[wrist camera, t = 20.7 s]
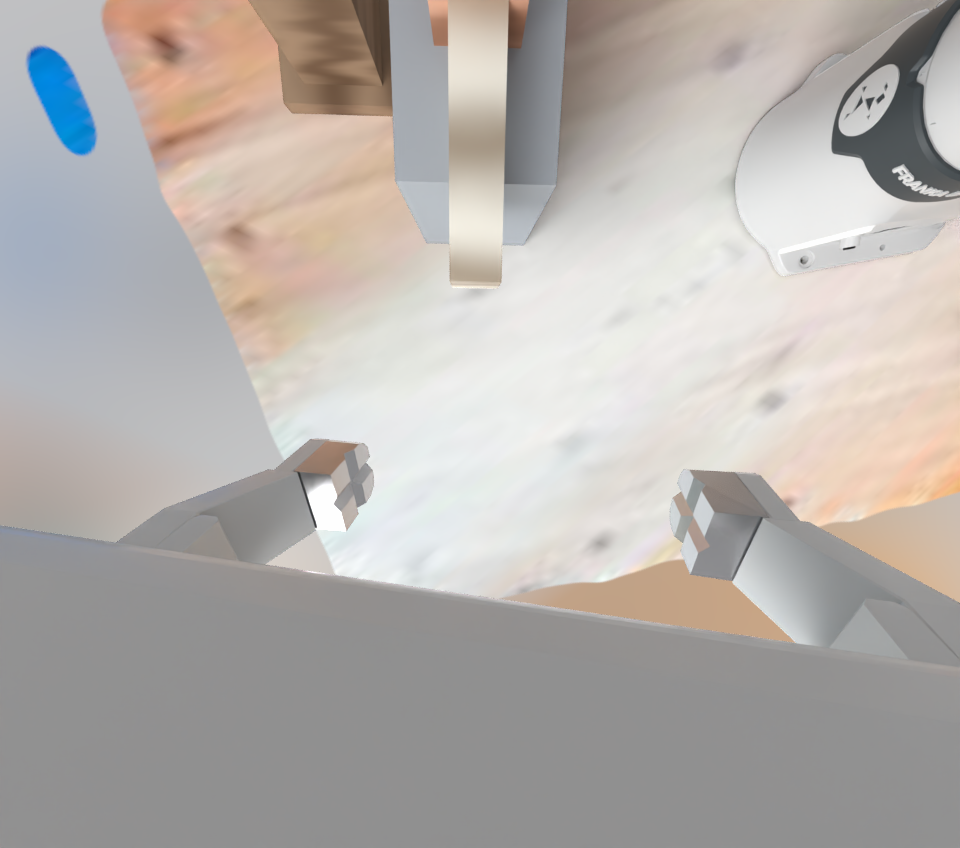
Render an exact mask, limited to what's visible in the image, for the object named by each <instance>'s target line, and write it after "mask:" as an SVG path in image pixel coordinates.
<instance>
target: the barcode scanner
mask: <svg viewBox="0 0 960 848" xmlns="http://www.w3.org/2000/svg"><path fill="white" fill-rule="evenodd" d="M528 4H529V0H428V6H429V13H430V20H431V28H432V35H433V42H434V46H448V108H449V254H450V283H451V285H452V287H453V288H493V289H498V287H499V286H500V284H501V278H502V240H503V202H504V164H505V126H506V88H507V51H508V48H521V46H522V40H523V34H524V28H525V22H526V16H527V10H528Z"/></svg>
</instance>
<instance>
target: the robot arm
mask: <svg viewBox="0 0 960 848" xmlns="http://www.w3.org/2000/svg"><path fill="white" fill-rule="evenodd" d="M735 196H736V203H737V208H738V212H739V215H740V217H741V220H742V222H743V224H744V226H745V227H746V229H747V230H748V232H749V233H750V234H751V235H752V236H753V238H754V239H756V240H757V241H758V242H759V243H760V244H761V245H762V246H763V247H764V248H765V249H766V250H767V251H768V253H769V256H770V259H771V261H772V264H773V266H774V268H775V270H776V271H777V273H778V274H780V275H782V276H790V275H795V274H801V273H806V272H811V271H817V270H822V269H828V268H833V267H838V266H844V265H849V264H855V263H860V262H865V261H871V260H876V259H882V258H887V257H893V256H898V255H903V254H908V253H912V252H916V251H919V250H922V249H924V248H926V247H927V246H928V245H929V244H930V243H931V242H932V241H933V240H934V238H935V237H936V236H937V235H938V233H939V232H940V230H941V229H942V228H943V226H944V225H945V223H946V222H947V221H951V220H955V219H959V218H960V0H943V1H942V2H941V3H939V4H938V5H937V7H936V8H935V9H933V10H932V11H929V9H923V10H920V11H917V12H915V13H913V14H912V15H910V16H908V17H907V18H905V19H904V20H902V21H901V22H899V23H897V24H896V25H894V26H893V27H891V28H890V29H888V30H887V31H885V32H883V33H882V34H880V35H879V36H877V37H876V38H874V39H873V40H871V41H869V42H868V43H866V44H865V45H863V46H862V47H860V48H859V49H857V50H856V51H854V52H852V53H851V54H849V55H845V54H841V53H837V54H834V55H832V56H830V57H829V58H827V59H826V60H824V61H823V62H821V63H820V64H819V65H818V66H817V67H816V68H815V69H814V70H813V72H812V73H811V74H810V75H809V77H808V78H807V79H806V81H805V82H804V83H803V85H802V86H801V88H799V89H798V90H797V91H796V92H795V93H793V94H792V95H790V96H789V97H787V98H786V99H784V100H783V101H781V102H780V103H779V104H777V105H776V106H775V107H773V108H772V109H771V110H770V111H769V112H768V113H767V114H766V115H765V116H764V117H763V118H762V119H761V121H760V122H759V123H758V124H757V126H756V127H755V128H754V130H753V131H752V133H751V135H750V136H749V138H748V140H747V142H746V144H745V146H744V148H743V151H742V154H741V157H740V160H739V163H738V167H737V172H736V181H735ZM801 258H802V263H801V262H800V260H801ZM369 457H370V455H369V451H368V447H367V446H366V445H365V444H364V443H357V442H347V441H338V440H329V439H310V440H309V441H308V442H306V443H305V444H304V445H303V446H302V447H300V448H299V449H298V450H297V451H296V452H295V453H293V454H292V455H291V456H290V457H289V458H287V459H286V460H285V461H284V462H283V463H282V464H281V465H279V466H278V467H277V468H276V469H274V470H266V471H263V472H261V473H258V474H255V475H252V476H250V477H247V478H244V479H242V480H239V481H236V482H234V483H231V484H228V485H226V486H223V487H220V488H217V489H215V490H212V491H209V492H207V493H204V494H201V495H199V496H196V497H193V498H191V499H188V500H186V501H183V502H180V503H177V504H175V505H172V506H169V507H167V508H164V509H163V510H161V511H160V512H158V513H157V514H155V515H154V516H153V517H151V518H150V519H148V520H147V521H145V522H144V523H143V524H141V525H140V526H138V527H137V528H136V529H134V530H133V531H131V532H130V533H128V534H127V535H126V536H124V537H123V538H121V539H120V540H119V541H117V542H109V541H102V540H95V539H89V538H82V537H75V536H68V535H62V534H55V533H48V532H42V531H35V530H28V529H22V528H15V527H8V526H1V525H0V848H960V603H959V602H957V601H955V600H953V599H951V598H949V597H948V596H946V595H944V594H942V593H940V592H938V591H936V590H935V589H932V588H931V587H929V586H927V585H925V584H923V583H922V582H920V581H918V580H916V579H914V578H912V577H910V576H909V575H907V574H905V573H903V572H901V571H899V570H897V569H895V568H894V567H891V566H890V565H888V564H886V563H884V562H882V561H881V560H879V559H877V558H875V557H873V556H871V555H869V554H867V553H865V552H864V551H862V550H860V549H858V548H856V547H854V546H852V545H851V544H849V543H847V542H845V541H843V540H841V539H839V538H838V537H836V536H834V535H832V534H830V533H828V532H826V531H824V530H823V529H821V528H819V527H817V526H815V525H813V524H811V523H810V522H803V521H800V520H799V519H798V518H797V517H796V516H795V515H794V513H793V512H792V511H791V510H790V509H789V508H788V507H787V505H786V504H785V503H784V502H783V501H782V500H781V499H780V497H779V496H778V495H777V494H776V493H775V492H774V490H773V489H772V488H771V487H770V486H769V485H768V484H767V482H766V481H765V480H764V479H763V478H762V477H761V476H760V475H758V474H756V473H744V472H720V471H704V470H687V469H684V470H683V471H682V473H681V474H680V476H679V480H678V483H677V484H678V486H679V488H680V490H681V492H680V493H679V494H677V495H676V496H675V497H673V499H672V503H671V507H670V524H671V529H672V531H673V534H674V536H675V537H676V538H677V539H678V540H680V541H681V542H682V543H683V545H682V548H681V554H682V556H683V558H684V561H685V563H686V566H687V568H688V570H689V573H690V575H696V576H703V577H710V578H716V579H723V580H730V581H733V584H734V585H735V586H736V587H737V588H738V589H739V590H741V591H742V592H743V593H744V594H745V595H746V596H747V597H748V598H749V599H750V600H751V601H752V602H753V603H754V604H755V605H756V606H758V607H759V608H760V609H761V610H762V611H763V612H764V613H765V614H766V615H767V616H768V617H769V618H770V619H771V620H772V621H773V622H775V623H776V624H777V625H778V626H779V627H780V628H781V629H782V630H783V631H784V632H785V633H786V634H787V635H788V636H789V637H790V638H791V639H793V640H794V641H795V642H796V643H792V642H785V641H778V640H772V639H764V638H758V637H751V636H744V635H737V634H730V633H724V632H716V631H710V630H703V629H696V628H689V627H682V626H675V625H669V624H662V623H656V622H649V621H642V620H636V619H629V618H622V617H616V616H609V615H602V614H595V613H589V612H582V611H576V610H568V609H562V608H556V607H549V606H541V605H536V604H529V603H522V602H515V601H508V600H502V599H495V598H488V597H481V596H474V595H468V594H461V593H454V592H447V591H440V590H434V589H427V588H420V587H413V586H406V585H400V584H393V583H386V582H379V581H372V580H366V579H359V578H352V577H345V576H339V575H332V574H324V573H318V572H312V571H305V570H298V569H291V568H285V567H277V566H270V565H265V564H266V563H268V562H269V561H271V560H272V559H274V558H275V557H277V556H278V555H280V554H281V553H283V552H284V551H286V550H287V549H289V548H290V547H292V546H293V545H295V544H296V543H298V542H299V541H301V540H302V539H303V538H305V537H307V536H308V535H310V534H311V533H313V532H314V531H316V529H325V530H335V531H347V529H348V528H349V527H350V525H351V524H352V522H353V521H354V519H355V518H356V517H357V515H358V510H357V507H359V506H361V505H363V504H364V503H366V502H367V500H368V499H369V497H370V496H371V493H372V490H373V486H374V475H373V470H372V469H371V468H370V467H369V466H368V464H367V463H366V462H367V461H368V459H369Z"/></svg>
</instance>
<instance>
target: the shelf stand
mask: <svg viewBox="0 0 960 848" xmlns="http://www.w3.org/2000/svg"><path fill="white" fill-rule="evenodd" d="M248 1H249V2H250V4H251V5H252V7H253V8H254V10H255V11H256V13H257V14H258V16H259V17H260V19H261V20H262V22H263V23H264V24H265V26H266V27H267V29H268V30H269V32H270V33H271V35H272V36H273V38H274V39H275V41H276V42H277V44H278V51H279V61H280V71H281V81H282V91H283V101H284V104H285V105H286V106H287V108H288V109H289V110H290V111H291V113H304V114H337V115H370V116H393V106H392V79H391V51H390V24H389V0H248Z"/></svg>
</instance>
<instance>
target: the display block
mask: <svg viewBox="0 0 960 848" xmlns="http://www.w3.org/2000/svg"><path fill="white" fill-rule="evenodd" d="M567 2H568V0H529V4H528V10H527V16H526V22H525V28H524V34H523V40H522V46H521V48H508V51H507V88H506V126H505V164H504V202H503V240H502V245H524V243H525V241H526V240H527V238H528V236H529V234H530V232H531V231H532V229H533V227H534V225H535V223H536V221H537V220H538V218H539V216H540V214H541V212H542V211H543V209H544V207H545V205H546V203H547V201H548V200H549V198H550V196H551V194H552V192H553V191H554V189H555V187H556V183H557V167H558V150H559V134H560V117H561V101H562V85H563V68H564V52H565V35H566V19H567ZM389 24H390V51H391V79H392V106H393V133H394V161H395V182H396V184H397V186H398V188H399V190H400V192H401V193H402V195H403V197H404V199H405V201H406V203H407V205H408V207H409V209H410V211H411V213H412V215H413V217H414V219H415V221H416V223H417V225H418V227H419V229H420V231H421V233H422V235H423V237H424V239H425V241H426V243H441V244H449V108H448V46H434V42H433V35H432V28H431V20H430V13H429V6H428V0H389Z"/></svg>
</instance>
